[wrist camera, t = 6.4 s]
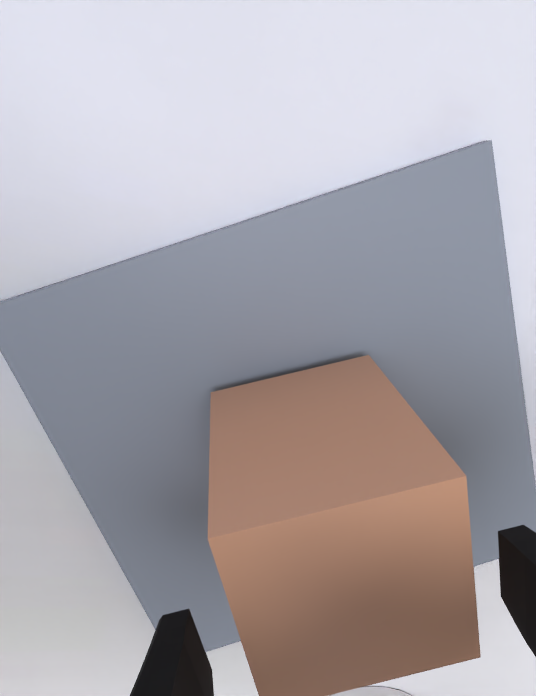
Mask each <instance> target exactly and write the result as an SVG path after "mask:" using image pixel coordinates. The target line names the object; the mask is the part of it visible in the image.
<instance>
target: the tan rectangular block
mask: <svg viewBox="0 0 536 696" xmlns="http://www.w3.org/2000/svg"><path fill="white" fill-rule="evenodd" d="M208 542H209V545H210V548H211V551H212V554H213V557H214V560H215V563H216V566H217V569H218V572H219V575H220V578H221V581H222V584H223V587H224V590H225V593H226V597H227V600H228V603H229V606H230V609H231V612H232V615H233V618H234V621H235V624H236V627H237V630H238V633H239V636H240V639H241V642H242V645H243V648H244V651H245V654H246V657H247V661H248V664H249V667H250V670H251V673H252V676H253V679H254V682H255V685H256V688H257V691H258V694H259V696H328V695H332V694H336V693H340V692H344V691H348V690H352V689H356V688H360V687H364V686H368V685H372V684H376V683H380V682H384V681H388V680H391V679H395V678H399V677H403V676H407V675H411V674H415V673H419V672H423V671H427V670H431V669H435V668H439V667H443V666H447V665H451V664H455V663H459V662H463V661H467V660H471V659H475V658H479V657H480V645H479V632H478V619H477V606H476V593H475V580H474V568H473V555H472V542H471V529H470V516H469V503H468V490H467V478H466V475H465V474H464V472H463V471H462V470H461V469H460V467H459V466H458V465H457V464H456V462H455V461H454V460H453V459H452V457H451V456H450V455H449V454H448V453H447V451H446V450H445V449H444V448H443V446H442V445H441V444H440V443H439V441H438V440H437V439H436V438H435V436H434V435H433V434H432V433H431V431H430V430H429V429H428V428H427V426H426V425H425V424H424V423H423V421H422V420H421V419H420V418H419V417H418V415H417V414H416V413H415V412H414V410H413V409H412V408H411V407H410V405H409V404H408V403H407V402H406V400H405V399H404V398H403V397H402V395H401V394H400V393H399V392H398V390H397V389H396V388H395V387H394V386H393V384H392V383H391V382H390V381H389V379H388V378H387V377H386V376H385V374H384V373H383V372H382V371H381V369H380V368H379V367H378V366H377V364H376V363H375V362H374V361H373V359H372V358H371V357H370V356H369V355H366V356H361V357H357V358H353V359H349V360H345V361H340V362H336V363H332V364H328V365H324V366H319V367H315V368H311V369H307V370H303V371H298V372H294V373H290V374H286V375H282V376H277V377H273V378H269V379H265V380H261V381H256V382H252V383H248V384H244V385H240V386H235V387H231V388H227V389H223V390H218V391H214V392H211V399H210V447H209V495H208Z"/></svg>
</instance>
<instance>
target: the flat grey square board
mask: <svg viewBox="0 0 536 696" xmlns="http://www.w3.org/2000/svg"><path fill="white" fill-rule="evenodd" d="M0 351H1V353H2V354H3V356H4V358H5V360H6V362H7V363H8V365H9V367H10V369H11V371H12V372H13V374H14V376H15V378H16V380H17V381H18V383H19V385H20V387H21V389H22V390H23V392H24V394H25V396H26V398H27V399H28V401H29V403H30V405H31V407H32V408H33V410H34V412H35V414H36V416H37V417H38V419H39V421H40V423H41V425H42V426H43V428H44V430H45V432H46V434H47V435H48V437H49V439H50V441H51V443H52V444H53V446H54V448H55V450H56V452H57V453H58V455H59V457H60V459H61V461H62V462H63V464H64V466H65V468H66V470H67V471H68V473H69V475H70V477H71V479H72V480H73V482H74V484H75V486H76V488H77V489H78V491H79V493H80V495H81V497H82V498H83V500H84V502H85V504H86V506H87V507H88V509H89V511H90V513H91V515H92V516H93V518H94V520H95V522H96V523H97V525H98V527H99V529H100V531H101V532H102V534H103V536H104V538H105V540H106V541H107V543H108V545H109V547H110V549H111V550H112V552H113V554H114V556H115V558H116V559H117V561H118V563H119V565H120V567H121V568H122V570H123V572H124V574H125V576H126V577H127V579H128V581H129V583H130V585H131V586H132V588H133V590H134V592H135V594H136V595H137V597H138V599H139V601H140V603H141V604H142V606H143V608H144V610H145V612H146V613H147V615H148V617H149V619H150V621H151V622H152V624H153V626H154V628H155V630H156V628H157V625H158V622H159V620H160V618H161V617H162V615H165V614H169V613H173V612H177V611H181V610H185V609H190V612H191V615H192V617H193V620H194V623H195V625H196V628H197V631H198V634H199V636H200V639H201V642H202V644H203V647H204V650H205V652H207V651H210V650H213V649H217V648H220V647H223V646H226V645H229V644H232V643H235V642H239V641H241V639H240V636H239V633H238V630H237V627H236V624H235V621H234V618H233V615H232V612H231V609H230V606H229V603H228V600H227V597H226V593H225V590H224V587H223V584H222V581H221V578H220V575H219V572H218V569H217V566H216V563H215V560H214V557H213V554H212V551H211V548H210V545H209V542H208V495H209V447H210V399H211V392H214V391H218V390H223V389H227V388H231V387H235V386H240V385H244V384H248V383H252V382H256V381H261V380H265V379H269V378H273V377H277V376H282V375H286V374H290V373H294V372H298V371H303V370H307V369H311V368H315V367H319V366H324V365H328V364H332V363H336V362H340V361H345V360H349V359H353V358H357V357H361V356H366V355H369V356H370V357H371V358H372V359H373V361H374V362H375V363H376V364H377V366H378V367H379V368H380V369H381V371H382V372H383V373H384V374H385V376H386V377H387V378H388V379H389V381H390V382H391V383H392V384H393V386H394V387H395V388H396V389H397V390H398V392H399V393H400V394H401V395H402V397H403V398H404V399H405V400H406V402H407V403H408V404H409V405H410V407H411V408H412V409H413V410H414V412H415V413H416V414H417V415H418V417H419V418H420V419H421V420H422V421H423V423H424V424H425V425H426V426H427V428H428V429H429V430H430V431H431V433H432V434H433V435H434V436H435V438H436V439H437V440H438V441H439V443H440V444H441V445H442V446H443V448H444V449H445V450H446V451H447V453H448V454H449V455H450V456H451V457H452V459H453V460H454V461H455V462H456V464H457V465H458V466H459V467H460V469H461V470H462V471H463V472H464V474H465V475H466V478H467V490H468V503H469V516H470V529H471V542H472V555H473V567H474V566H477V565H480V564H483V563H486V562H490V561H493V560H496V559H499V545H498V531H500V530H504V529H508V528H512V527H516V526H520V525H525V526H527V527H528V528H530V529H531V530H533V531H534V532H535V533H536V486H535V478H534V470H533V462H532V454H531V446H530V438H529V430H528V423H527V415H526V407H525V399H524V391H523V383H522V375H521V367H520V360H519V352H518V344H517V336H516V328H515V320H514V312H513V304H512V297H511V289H510V281H509V273H508V265H507V257H506V249H505V241H504V234H503V226H502V218H501V210H500V202H499V194H498V186H497V178H496V171H495V163H494V155H493V147H492V140H490V141H483V142H480V143H477V144H474V145H471V146H468V147H465V148H462V149H459V150H456V151H453V152H450V153H447V154H444V155H441V156H438V157H435V158H432V159H429V160H426V161H423V162H420V163H417V164H414V165H411V166H408V167H405V168H402V169H399V170H396V171H393V172H390V173H387V174H384V175H381V176H378V177H375V178H372V179H369V180H365V181H362V182H359V183H356V184H353V185H350V186H347V187H344V188H341V189H338V190H335V191H332V192H329V193H326V194H323V195H320V196H317V197H314V198H311V199H308V200H305V201H302V202H299V203H296V204H293V205H290V206H287V207H284V208H281V209H278V210H275V211H272V212H269V213H266V214H263V215H260V216H257V217H254V218H251V219H248V220H245V221H242V222H239V223H236V224H233V225H230V226H227V227H224V228H221V229H218V230H215V231H212V232H209V233H206V234H203V235H200V236H197V237H194V238H191V239H188V240H185V241H182V242H179V243H175V244H172V245H169V246H166V247H163V248H160V249H157V250H154V251H151V252H148V253H145V254H142V255H139V256H136V257H133V258H130V259H127V260H124V261H121V262H118V263H115V264H112V265H109V266H106V267H103V268H100V269H97V270H94V271H91V272H88V273H85V274H82V275H79V276H76V277H73V278H70V279H67V280H64V281H61V282H58V283H55V284H52V285H49V286H46V287H43V288H40V289H37V290H34V291H31V292H28V293H25V294H22V295H19V296H16V297H13V298H10V299H7V300H4V301H1V302H0Z"/></svg>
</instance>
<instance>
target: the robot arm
mask: <svg viewBox="0 0 536 696" xmlns="http://www.w3.org/2000/svg"><path fill="white" fill-rule="evenodd" d="M498 545H499V566H500V587H501V597H502V599H503V601H504V603H505V605H506V607H507V609H508V611H509V612H510V614H511V616H512V618H513V620H514V622H515V623H516V625H517V627H518V629H519V631H520V632H521V634H522V636H523V638H524V639H525V641H526V643H527V644H528V646H529V647H530V649H531V650H532V652H533V653H534V655H535V656H536V533H535V532H534V531H533V530H531V529H530V528H528V527H527V526H525V525H520V526H516V527H512V528H508V529H504V530H500V531H498ZM130 696H214V693H213V678H212V669H211V666H210V663H209V661H208V658H207V655H206V652H205V650H204V647H203V644H202V642H201V639H200V636H199V634H198V631H197V628H196V625H195V623H194V620H193V617H192V615H191V612H190V609H185V610H181V611H177V612H173V613H169V614H165V615H162V617H161V618H160V620H159V622H158V625H157V628H156V631H155V633H154V636H153V639H152V641H151V644H150V647H149V649H148V652H147V655H146V657H145V660H144V662H143V665H142V667H141V670H140V672H139V675H138V677H137V680H136V682H135V685H134V687H133V689H132V692H131V694H130Z"/></svg>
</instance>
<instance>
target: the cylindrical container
mask: <svg viewBox="0 0 536 696" xmlns="http://www.w3.org/2000/svg"><path fill="white" fill-rule="evenodd" d="M331 696H411V695H409V694H407V693H405V692H402V691H400V690H396V689H392V688H387V687H361V688H356V689H352V690H348V691H344V692H340V693H336V694H334V695H331Z"/></svg>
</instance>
